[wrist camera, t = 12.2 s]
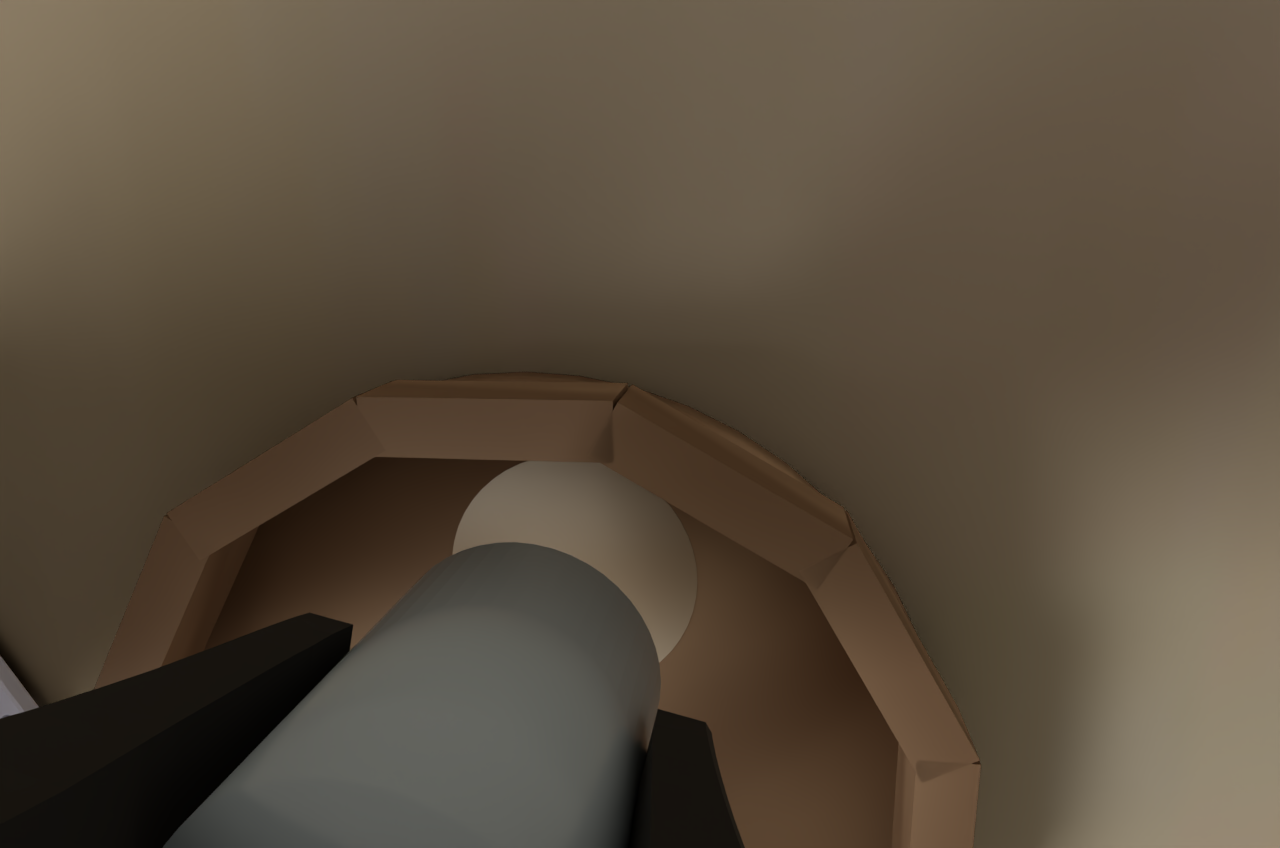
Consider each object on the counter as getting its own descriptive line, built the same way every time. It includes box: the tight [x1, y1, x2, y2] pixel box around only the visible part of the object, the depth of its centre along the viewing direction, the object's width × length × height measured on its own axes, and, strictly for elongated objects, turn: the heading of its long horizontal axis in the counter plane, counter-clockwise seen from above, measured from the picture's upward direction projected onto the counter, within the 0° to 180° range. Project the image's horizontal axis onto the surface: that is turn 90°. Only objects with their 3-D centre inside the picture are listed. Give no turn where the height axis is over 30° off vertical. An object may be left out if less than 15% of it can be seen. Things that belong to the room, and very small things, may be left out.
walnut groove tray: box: [94, 372, 981, 848], centre depth 16 cm, size 16×16×2 cm
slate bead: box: [163, 542, 661, 848], centre depth 9 cm, size 4×4×5 cm
